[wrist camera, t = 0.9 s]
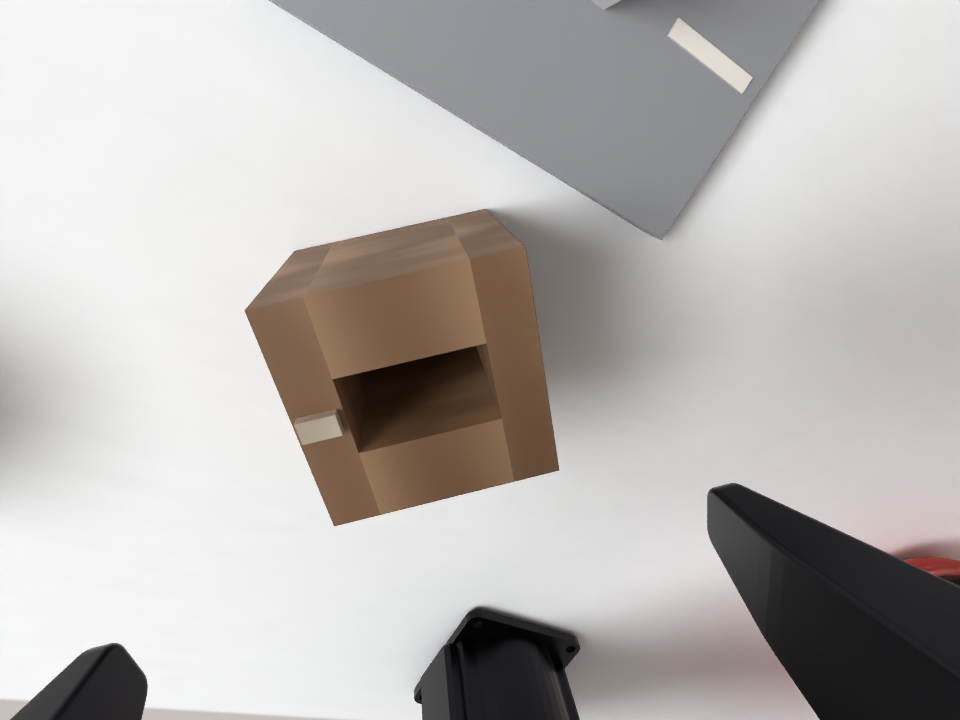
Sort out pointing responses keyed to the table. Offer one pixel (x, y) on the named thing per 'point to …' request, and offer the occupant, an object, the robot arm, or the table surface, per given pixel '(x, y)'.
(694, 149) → the switch plate
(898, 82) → the table surface
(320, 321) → the hollow wooden cube
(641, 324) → the table surface
